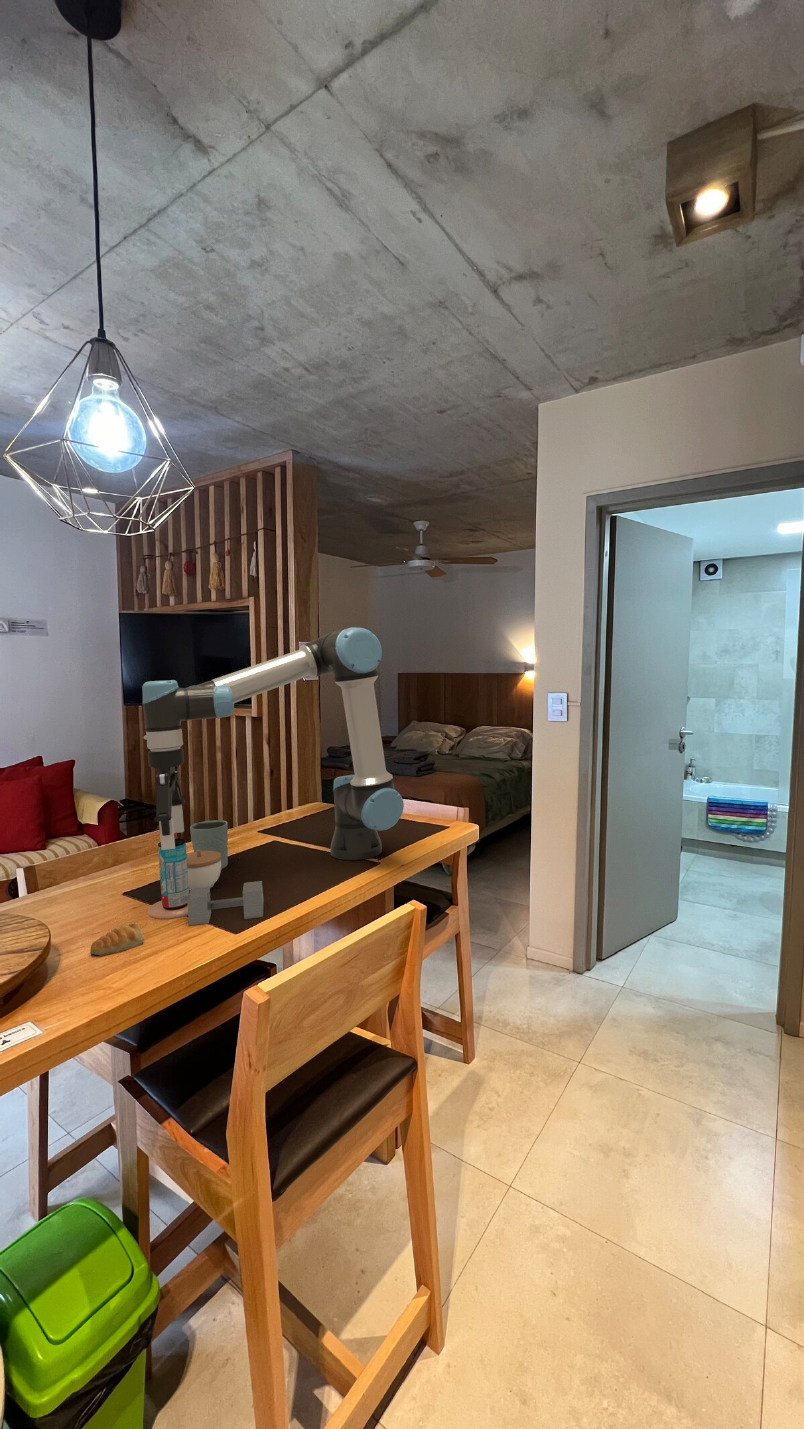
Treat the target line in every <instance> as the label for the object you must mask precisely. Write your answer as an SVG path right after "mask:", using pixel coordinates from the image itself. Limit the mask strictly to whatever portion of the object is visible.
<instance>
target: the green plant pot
mask: <svg viewBox="0 0 804 1429" xmlns="http://www.w3.org/2000/svg"><path fill="white" fill-rule="evenodd" d="M228 825H229V824H228V821H226V820H223V819H222V820H216V819H215V820H204V821H201V822H196V823H193V824H192V825H190V826H189V827H190V828H189V830H190V836H191V838H190V839H191V844H192V849H193V852H197V850H201V851H216V852H219V853H220V854H221V870H222V869H224V868H226V867H227V866H228V864H229V860H228V858H229V857H228V856H229V854H228V853H229V848H228V844H229V842H228V841H229V838H228V836H229V835H228V834H229V833H228V829H229V828H228V827H229V826H228Z"/></svg>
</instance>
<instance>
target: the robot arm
mask: <svg viewBox="0 0 804 1429" xmlns="http://www.w3.org/2000/svg"><path fill="white" fill-rule="evenodd" d="M382 655H383V650H382V645H381V642H380V640H379V639H378V637H377V636H376V635H375V634H374V633H373V632H372V631H371V630H369V629H367V628H364V627H351V626H350V627H349V628H345V629H339V630H332V631H331V632H328V633H326V634H324V635H322V636H320V637H318V638H316V639H314V640H311V641H309V642H306V643H304V644H301V645H300V646H299V649H298V650H295V651H293V652H288V653H286V654H283V655H280V656H278V657H274V658H272V659H269V660H266V661H264V662H263V661H262V662H260V663H257V664H255V665H252V666H248V667H245V668H243V669H240V670H237V671H234V672H231V673H228V674H225V675H223V676H219V677H216V678H214V679H211V680H209V681H205V682H202V683H199V684H196V685H190V686H188V687H185V688H184V687H183V688H182V687H179V683H178V681H177V680H175V679H171V680H154V681H152V680H150V681H146V682H144V683H143V685H142V686H141V688H142V689H141V690H142V708H143V717H144V727H145V734H146V735H144V736H143V739H144V740H146V746H147V749H149V750H148V752H147V761H148V766H149V768H151V769H158V770H159V771H158V772H159V774H156V775H155V781H156V782H155V783H156V814H155V815H156V816H155V817H154V822H155V823H156V822H158V825H159V838H160V842H161V850H168V849H175V840H174V839H175V834H178V833H184V832H185V825H184V813H183V805H185V804H186V799H184V797H183V792H182V786H181V782H180V780H181V779H180V776H179V766H182V765H183V764H185V756H184V755H185V754H184V749H183V748H182V746H183V745H184V741H183V740H184V739H183V731H182V730H183V729H182V721H184V722H185V721H193V720H205V719H206V720H207V719H222V718H227V717H231V716H232V715H233V713H234V709H235V703H238V702H240V701H243V700H246V699H247V700H248V699H249V698H252V697H255V696H257V695H260V694H262V693H266V692H269V691H271V690H274V689H276V688H279V687H282V686H285V685H287V684H290V683H294V682H296V681H299V680H301V679H304V678H308V677H310V678H312V679H315V678H318V677H321V676H324V675H329V674H333V679H334V683H335V684H336V685H337V686H339V687H340V688H341V694H342V695H341V696H342V699H343V706H344V714H345V719H346V725H347V732H348V739H349V747H350V751H351V760H352V765H353V771H354V772H353V773H354V774H349V775H343V776H342V775H340V776H338V777H336V778H334V780H333V788H332V791H333V803H334V822H335V823H334V824H335V825H334V826H335V829H334V831H333V836H332V838H331V839H332V840H331V844H330V850H329V851H330V855H331V857H332V858H335V859H338V860H343V861H345V860H346V861H358V860H366V859H368V860H369V859H371V858H375V857H377V856H379V855H381V854H382V852H383V844H382V840H381V838H380V835H379V832H378V831H386V830H387V831H388V830H389V829H391V828H392V827H394V826H395V825H397V823H398V821H399V820H400V819H401V817H402V815H403V813H404V808H405V806H404V799H403V797H402V794H400V793H399V791H397V790H396V789H395V784H394V778H393V774H392V773H390V772H388V771H387V769H386V768H387V767H386V760H385V755H384V754H385V753H384V747H383V740H382V734H381V733H382V732H381V727H380V726H381V725H380V719H379V711H378V706H377V698H376V690H375V685H374V684H375V682H376V680H377V679H378V677H379V673H378V672H379V671H378V666H379V664H380V662H381V660H382V657H383V656H382Z"/></svg>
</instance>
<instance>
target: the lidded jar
mask: <svg viewBox="0 0 804 1429" xmlns="http://www.w3.org/2000/svg"><path fill="white" fill-rule="evenodd" d="M186 854H187V869H188V886H189V891H190V890H191V889H193V888H202V887H210V889H211V888H213V887H214V884H215V883H216V882H217V880H219V878H220V875H221V871H222V869H221V854H220V853H219V852H216V851H201V850H197V852H194V851H192V852H189V853H186Z"/></svg>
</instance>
